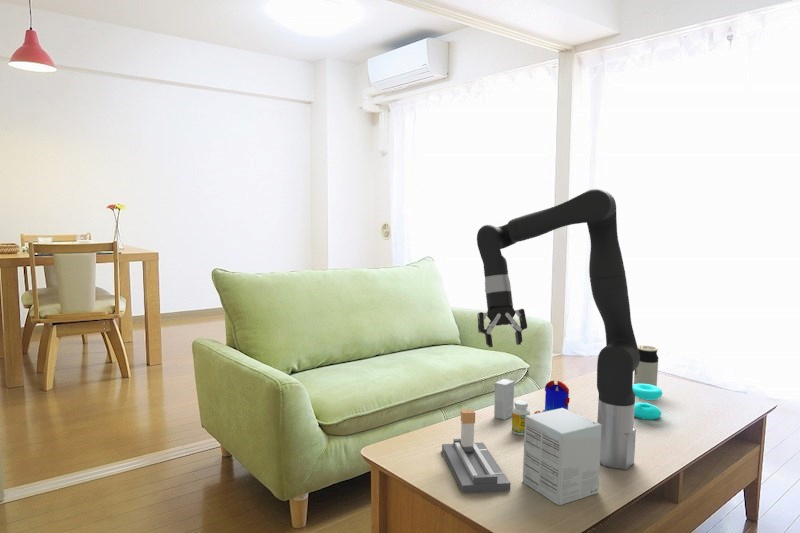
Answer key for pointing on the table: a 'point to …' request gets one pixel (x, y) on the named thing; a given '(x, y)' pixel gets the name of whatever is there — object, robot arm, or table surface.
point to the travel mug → (647, 366)
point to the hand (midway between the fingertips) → (504, 345)
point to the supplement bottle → (519, 417)
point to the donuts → (646, 409)
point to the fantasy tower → (556, 396)
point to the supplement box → (562, 455)
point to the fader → (467, 429)
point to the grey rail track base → (475, 468)
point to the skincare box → (504, 399)
